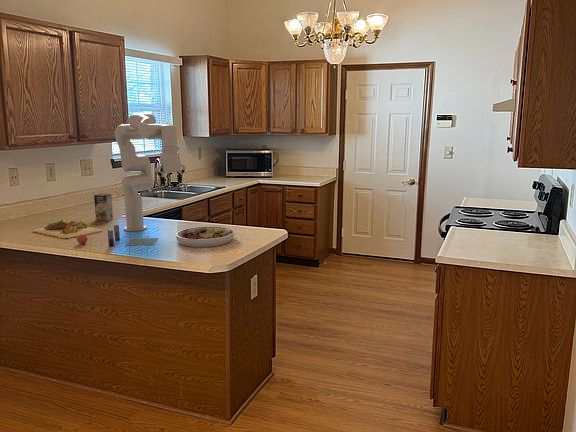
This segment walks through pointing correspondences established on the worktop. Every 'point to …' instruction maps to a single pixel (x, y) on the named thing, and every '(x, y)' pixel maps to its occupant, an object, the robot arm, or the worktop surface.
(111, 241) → the post
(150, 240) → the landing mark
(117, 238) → the post
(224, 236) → the bowl
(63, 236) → the wooden food tray
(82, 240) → the ball
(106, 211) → the coffee box
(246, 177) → the worktop surface
